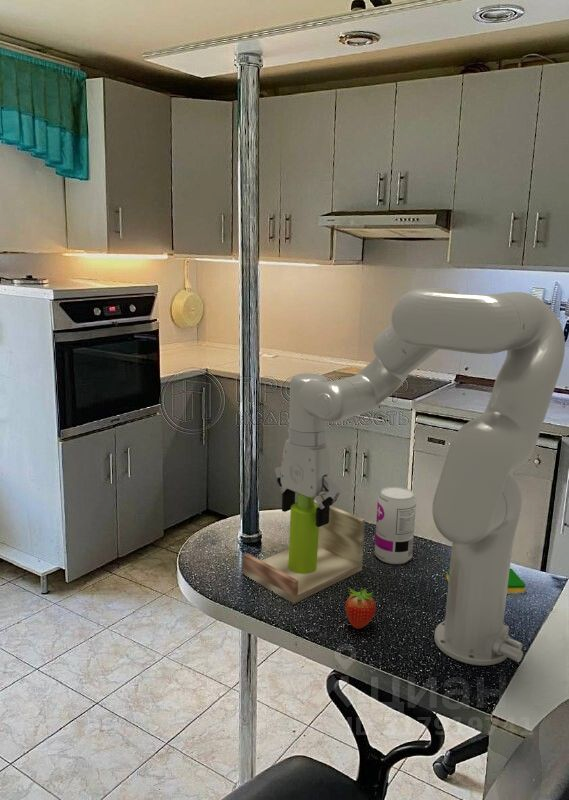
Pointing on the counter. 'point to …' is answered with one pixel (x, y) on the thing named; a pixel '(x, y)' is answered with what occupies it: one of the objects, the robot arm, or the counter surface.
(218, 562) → the counter surface
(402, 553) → the supplement can
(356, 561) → the wooden holder
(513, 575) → the dish sponge
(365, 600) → the fruit
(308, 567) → the soap dispenser
